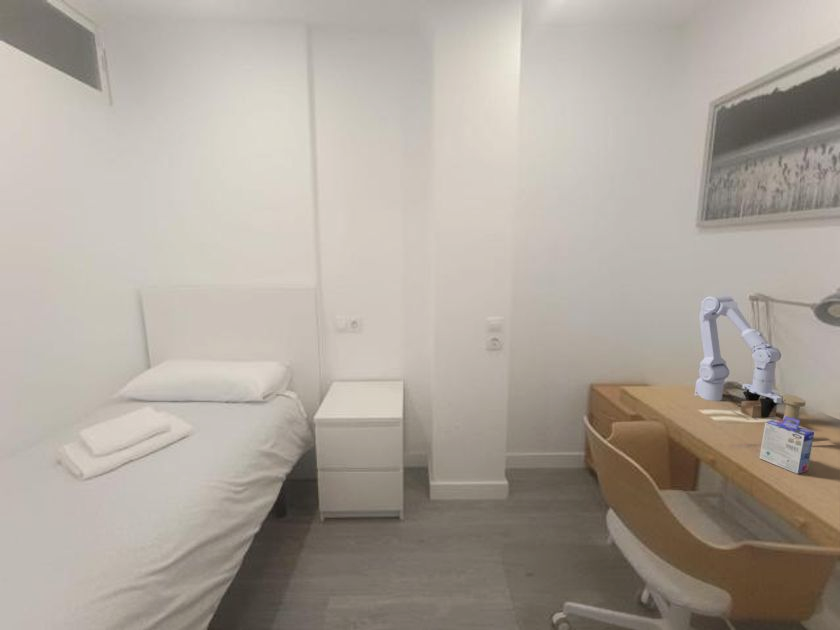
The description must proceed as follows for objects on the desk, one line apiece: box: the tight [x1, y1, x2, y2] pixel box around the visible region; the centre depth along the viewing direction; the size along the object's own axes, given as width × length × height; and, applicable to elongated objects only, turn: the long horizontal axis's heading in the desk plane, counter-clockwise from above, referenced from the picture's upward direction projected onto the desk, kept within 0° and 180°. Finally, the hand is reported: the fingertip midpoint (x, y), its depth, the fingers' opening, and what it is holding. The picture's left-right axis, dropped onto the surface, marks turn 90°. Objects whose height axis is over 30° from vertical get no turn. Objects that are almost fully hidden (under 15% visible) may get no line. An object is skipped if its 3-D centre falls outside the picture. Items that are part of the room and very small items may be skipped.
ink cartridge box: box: [759, 416, 815, 475], centre depth 118 cm, size 10×6×14 cm, turn 24°
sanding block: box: [740, 399, 778, 418], centre depth 149 cm, size 5×9×4 cm, turn 92°
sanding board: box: [697, 407, 783, 425], centre depth 149 cm, size 16×28×2 cm, turn 92°
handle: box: [782, 394, 807, 424], centre depth 131 cm, size 5×6×15 cm
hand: (758, 413), depth 149 cm, fingers closed on sanding block, 5 cm apart
